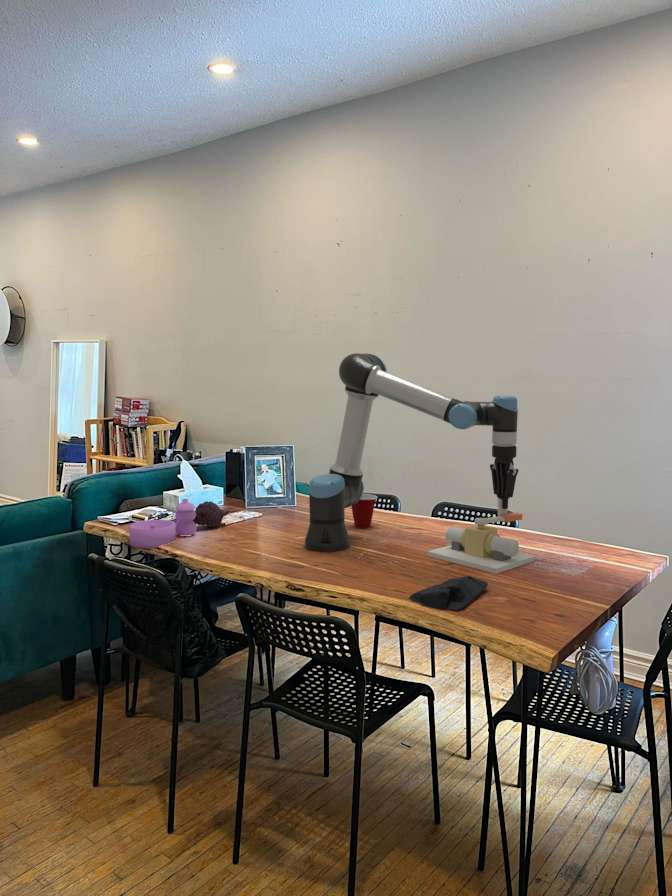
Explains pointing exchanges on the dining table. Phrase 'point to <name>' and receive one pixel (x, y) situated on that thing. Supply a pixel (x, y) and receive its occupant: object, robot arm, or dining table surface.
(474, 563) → the pipe board
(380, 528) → the dining table surface
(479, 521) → the valve lever
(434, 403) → the robot arm
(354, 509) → the plastic cup
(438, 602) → the black crumpled cloth
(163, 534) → the container set
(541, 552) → the dining table surface
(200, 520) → the pine cone
